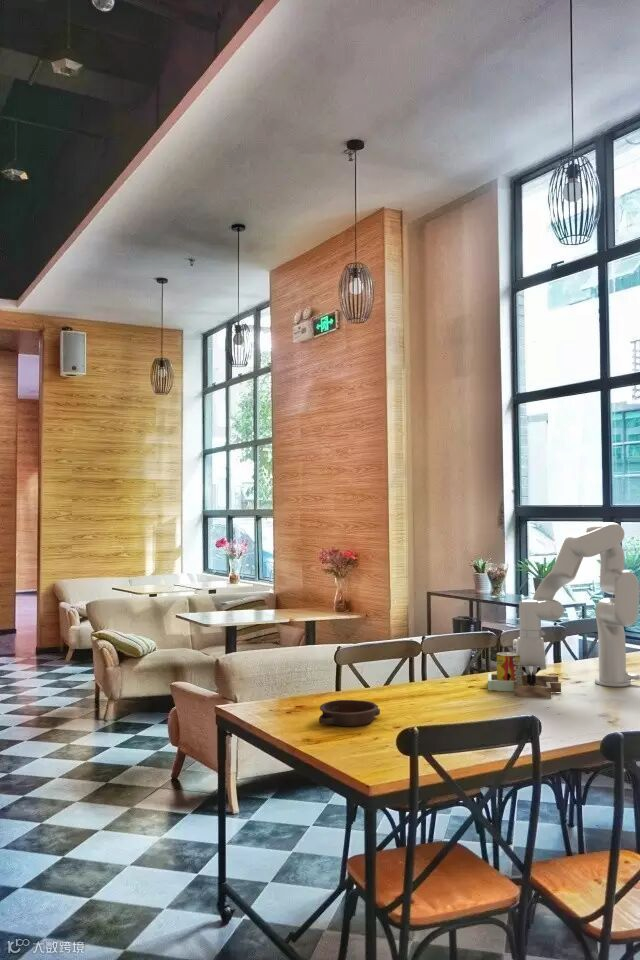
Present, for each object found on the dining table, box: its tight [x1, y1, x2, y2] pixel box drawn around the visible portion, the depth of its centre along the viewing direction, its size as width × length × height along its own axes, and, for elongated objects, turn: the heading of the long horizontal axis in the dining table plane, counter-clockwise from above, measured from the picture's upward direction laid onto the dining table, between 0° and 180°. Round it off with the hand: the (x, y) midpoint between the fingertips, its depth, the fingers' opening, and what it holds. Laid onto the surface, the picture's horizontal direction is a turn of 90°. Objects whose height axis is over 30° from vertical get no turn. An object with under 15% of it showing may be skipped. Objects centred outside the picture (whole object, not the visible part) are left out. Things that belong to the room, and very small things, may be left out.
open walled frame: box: [491, 673, 562, 698], centre depth 285 cm, size 24×22×4 cm
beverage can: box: [496, 651, 523, 686], centre depth 291 cm, size 9×9×12 cm
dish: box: [318, 699, 381, 727], centre depth 242 cm, size 18×22×5 cm
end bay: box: [487, 672, 517, 692], centre depth 291 cm, size 10×14×4 cm
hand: (531, 685), depth 289 cm, fingers closed
